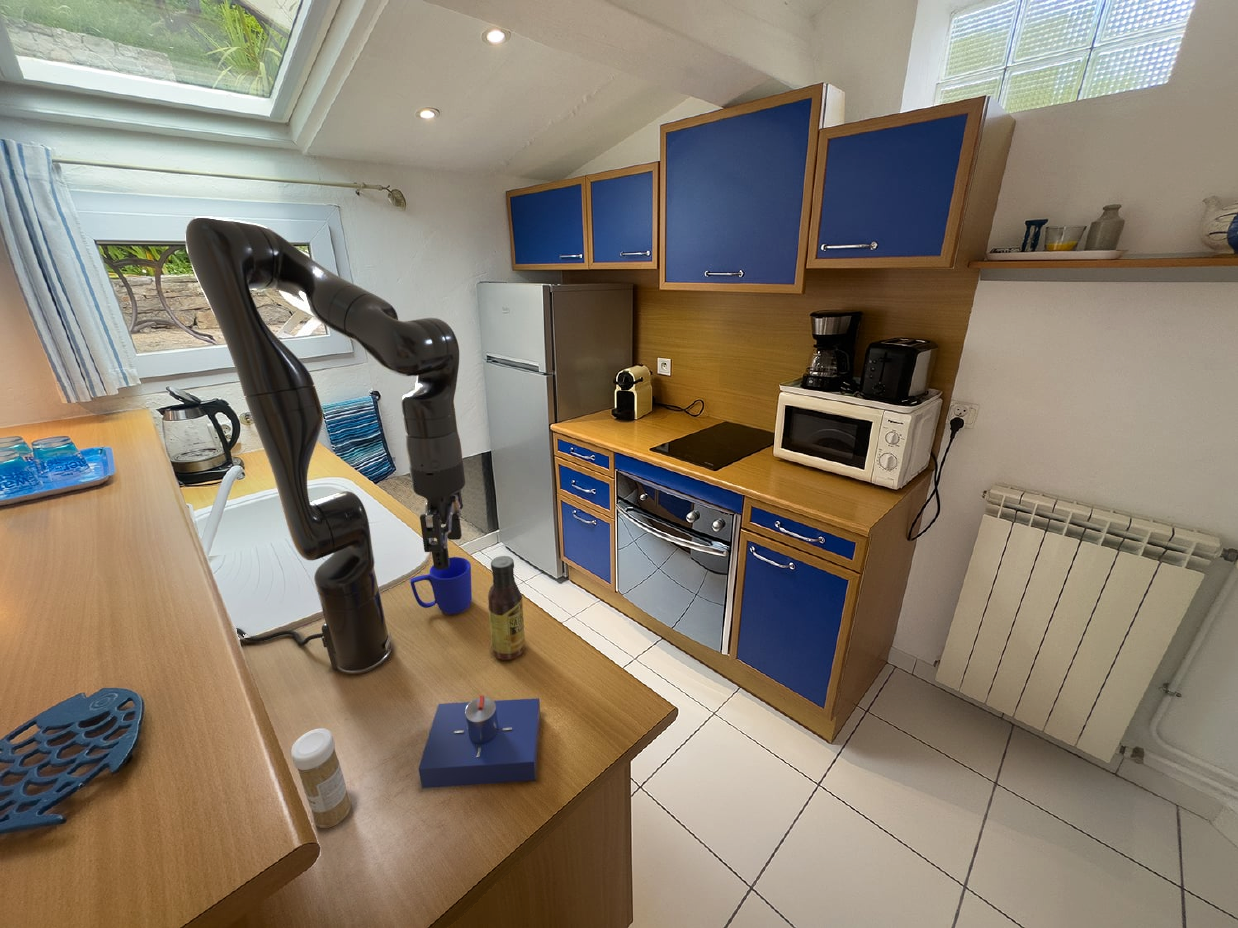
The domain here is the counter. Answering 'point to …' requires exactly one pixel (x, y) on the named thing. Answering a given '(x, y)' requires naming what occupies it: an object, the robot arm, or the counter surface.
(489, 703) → the silver pointer knob
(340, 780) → the sprinkles bottle
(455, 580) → the mug
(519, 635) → the sauce bottle
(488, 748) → the blue knob base block
